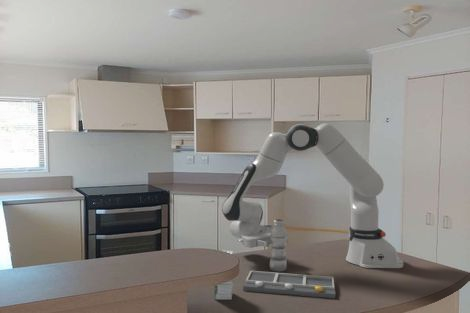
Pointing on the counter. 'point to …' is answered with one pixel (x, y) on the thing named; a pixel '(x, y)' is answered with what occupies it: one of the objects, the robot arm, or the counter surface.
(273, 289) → the board
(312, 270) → the counter surface
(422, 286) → the counter surface
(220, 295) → the syrup box
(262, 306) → the counter surface
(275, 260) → the plastic bottle
